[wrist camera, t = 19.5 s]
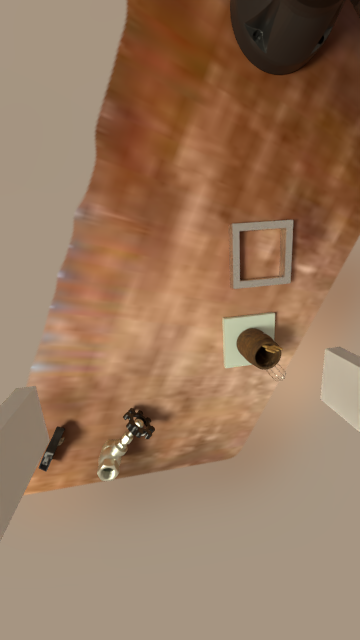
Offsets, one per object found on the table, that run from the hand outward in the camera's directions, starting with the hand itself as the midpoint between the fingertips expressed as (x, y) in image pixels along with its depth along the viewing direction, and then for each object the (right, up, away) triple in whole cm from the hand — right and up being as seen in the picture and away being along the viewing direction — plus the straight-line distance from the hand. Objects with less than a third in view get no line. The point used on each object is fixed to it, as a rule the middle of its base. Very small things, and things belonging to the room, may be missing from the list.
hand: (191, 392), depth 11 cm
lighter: (-24, -20, +38) cm, 49 cm away
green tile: (+13, -1, +38) cm, 40 cm away
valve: (-12, -19, +40) cm, 46 cm away
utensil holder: (+13, -1, +37) cm, 39 cm away
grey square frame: (+14, +15, +34) cm, 40 cm away
